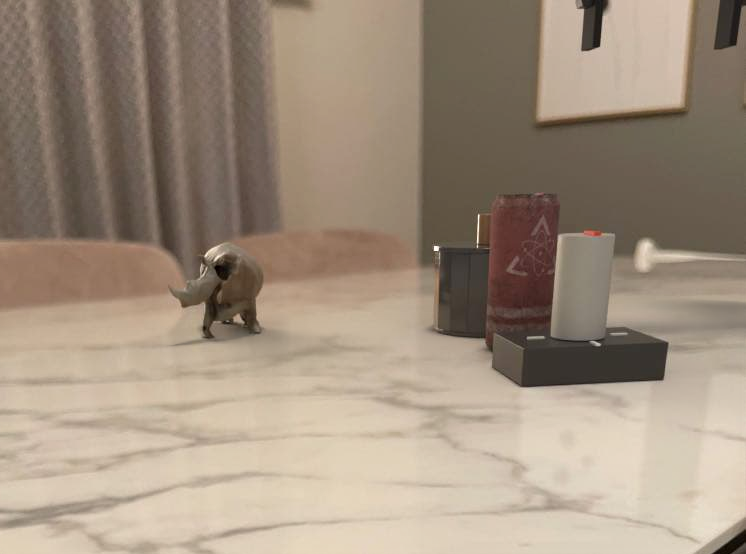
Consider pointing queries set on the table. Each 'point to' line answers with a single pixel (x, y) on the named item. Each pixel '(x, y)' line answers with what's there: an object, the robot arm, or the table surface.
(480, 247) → the pot lid
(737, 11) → the robot arm
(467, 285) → the pot
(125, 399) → the table surface
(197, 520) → the table surface
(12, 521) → the table surface
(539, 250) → the can
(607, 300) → the knob
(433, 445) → the table surface
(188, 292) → the rhinoceros figurine
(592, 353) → the block
